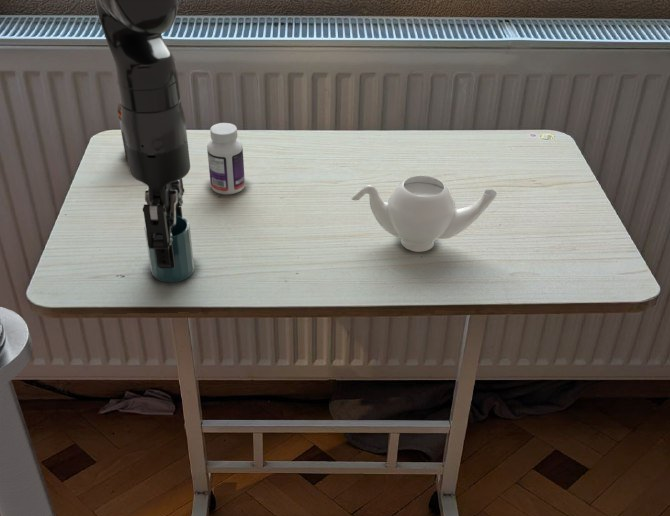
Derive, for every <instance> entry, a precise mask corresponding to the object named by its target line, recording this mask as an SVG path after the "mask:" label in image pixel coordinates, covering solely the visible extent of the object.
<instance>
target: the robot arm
mask: <svg viewBox="0 0 670 516" xmlns="http://www.w3.org/2000/svg"><path fill="white" fill-rule="evenodd" d="M94 3H95V7H96V8H95V9H96V12H97V16H98V19H99V22H100V25H101V28H102V31H103V35H104V38H105V41H106V44H107V46H108V49H109V52H110V55H111V57H112V61H113V63H114V69H115V79H116V84H117V90H118V96H119V101H120V102H119V103H120V104H121V122H122V128H123V134H124V140H125V146H126V152H127V158H128V159H127V158H126V159H127V163H128V171H129V173H130V175H131V176H132V178H133V179H134V180H136V181H138V182H140V183H143V184H144V185H145V186H147V187H148V188H147V189H145V191H144V202H146V204H143V206H142V212H143V216H144V224H145V225H146V232H147V239H148V246H149V249H155V253H156V259H157V265H158V267H159V268H170V269H171V268H174V265H175V259H174V251H173V244H172V242H173V239H172V228H173V227H174V226H175V225H176V215H177V216H181V217H183V209H182V207H183V204H184V200H183V196H184V193H185V188H184V183H183V182H184V181H183V179H184V178H185V177H186V176H187V175H188V174H189V172H190V170H191V161H190V152H189V143H188V134H187V133H188V132H187V125H186V116H185V112H184V107H183V103H182V99H181V91H180V82H179V73H178V72H179V71H178V67H177V63H176V57H175V56H174V54H173V52H172V51H171V49H170V48H169V47H168V45H167V44H166V42H165V41H164V37H163V35H162V34H164V33H166V32H167V31H168V30H169V29H170V28H171V27H172V26H173V24H174V22H175V20H176V18H177V15H178V10H179V0H94ZM169 215H170V218H169V219H168V220H167V219H166V216H169ZM183 218H184V217H183ZM145 225H144V226H145ZM157 233H161V234H162V235H163V236H160V235H157ZM4 340H5V331H4V328H3V325H2V323H1V320H0V347H1V346H2V344H3V342H4Z"/></svg>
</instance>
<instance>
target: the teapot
mask: <svg viewBox="0 0 670 516" xmlns="http://www.w3.org/2000/svg"><path fill="white" fill-rule="evenodd" d="M365 195H368V199H369V207H370V210H371V213H372V214H373V216H374V218H375V220H376V221H377V223H378V224H379V226H380V227H381V228H382V229H383V230H384V231H385V232H387V233H388V234H390V235H392V236H394V237H395V238H399V239H401V245H402V246H403V247H404V248H405V249H407V250H409V251H412V252H417V253H421V252H426V251H429V250H432V248H433V247H434V245H435V241H436V240H447V239H451V238H454V237H455V236H457V235H459V234H461V233H462V232H464V231H465V230H467V229H468V228H469V227H470V226H471V225H472V224H473V223H474V222H476V220H478V219H479V217H481V215H482V214H483V213H484V212H485V211H486V209H487V208H488V207H489V206H490V205H491V204H492V203H493V201H494V200H495V198H496V197H497V191H496V190H494V189H490V188H489V189H485V190H484V191H483V193H482V194H481V196H480V197H479V199H478V200H476V201H475V202H473V203H472V204H470V205H467V206H465V207H461V208H457V205H456V201H455V199H454V197H453V195H452V192H451V191H450V189H449V187H448V186H447V185H446V184H445V183H444V181H442V180H441V179H438V178H436V177H433V176H429V175H414V176H409V177H407V178H405V179H404V180H402V181H401V182H400V183H399V184H398V185H397V186H396V187H395V188H394V190H393V191H392V192H391V193H390V195H389V197H388V200H387V201H385V200H383V198H382V197H381V195H380V193H379V191H378V190H377V188H376V186H373V185H372V184H368V185H366V186H364V187H363V188H361V189H360V190H359V191H358V192H357V193H355V194H354V195H353V196H352V197H351V198H350V199H351V200H352V201H359V200H361V199H362V198H363V196H365Z"/></svg>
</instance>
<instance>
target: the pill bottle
mask: <svg viewBox="0 0 670 516" xmlns="http://www.w3.org/2000/svg"><path fill="white" fill-rule="evenodd" d="M209 131H210V133H209V134H210V140H209V141H208V143H207V145H206V150H207V160H208V173H209V181H210V188H211V189H212V191H214V192H215V193H217V194H220V195H233V194H237V193H240V192H241V191H243V190H244V189H245V185H246V179H245V164H244V163H245V162H244V161H245V160H244V147H243V142H242V141H241V140H240V139H239V138H238V128H237V126H236V125H235V124H233V123H229V122H219V123H215V124H213V125H212V126H211V127H210V129H209Z"/></svg>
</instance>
